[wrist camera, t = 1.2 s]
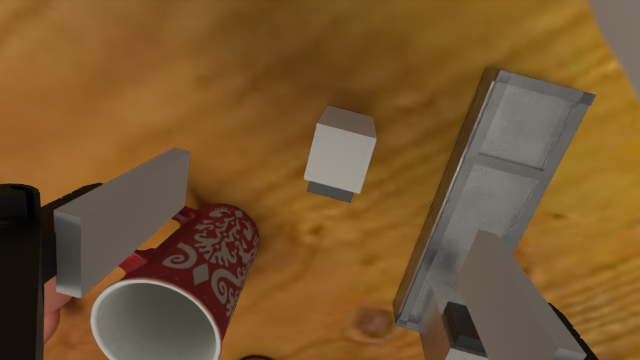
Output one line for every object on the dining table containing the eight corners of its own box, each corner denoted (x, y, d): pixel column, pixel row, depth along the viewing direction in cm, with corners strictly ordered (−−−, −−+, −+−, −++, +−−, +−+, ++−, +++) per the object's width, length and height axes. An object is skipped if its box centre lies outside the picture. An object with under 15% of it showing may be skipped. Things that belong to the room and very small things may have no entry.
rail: (485, 68, 28) (553, 77, 18) (572, 90, 28) (686, 111, 18) (392, 303, 37) (404, 396, 27) (458, 321, 37) (494, 420, 27)
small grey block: (327, 105, 30) (317, 123, 23) (372, 116, 30) (376, 138, 23) (314, 159, 32) (300, 191, 25) (356, 170, 32) (355, 206, 25)
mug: (285, 256, 36) (246, 366, 24) (213, 285, 38) (142, 400, 26) (219, 147, 33) (132, 208, 20) (144, 186, 35) (24, 263, 22)
